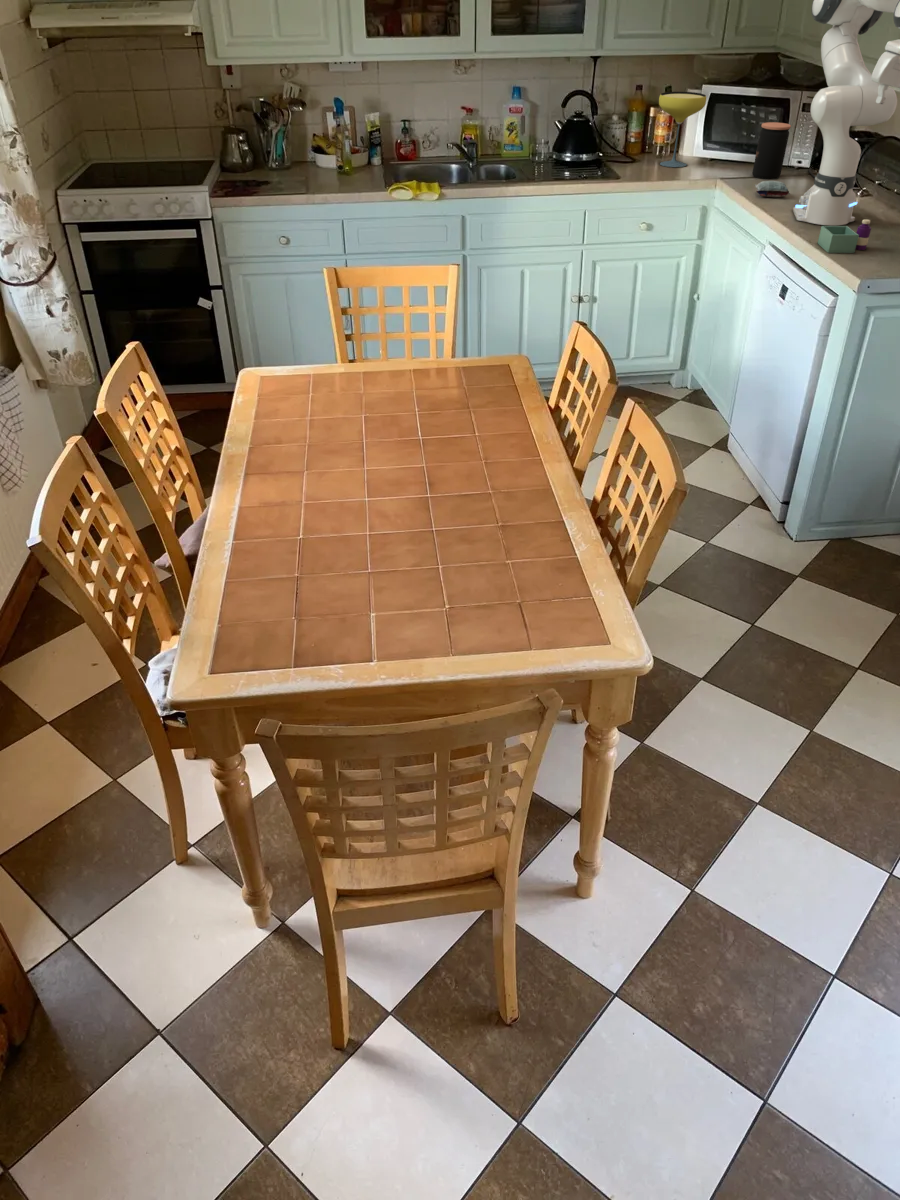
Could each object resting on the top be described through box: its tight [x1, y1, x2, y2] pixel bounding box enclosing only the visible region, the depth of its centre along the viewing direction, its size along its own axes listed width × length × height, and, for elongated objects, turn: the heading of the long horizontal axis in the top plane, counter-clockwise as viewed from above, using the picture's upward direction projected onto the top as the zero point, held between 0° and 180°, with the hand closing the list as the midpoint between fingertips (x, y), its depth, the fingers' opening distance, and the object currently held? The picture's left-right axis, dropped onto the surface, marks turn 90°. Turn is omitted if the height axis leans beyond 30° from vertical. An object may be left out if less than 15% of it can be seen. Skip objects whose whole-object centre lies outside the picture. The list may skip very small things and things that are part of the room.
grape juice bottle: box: [855, 218, 872, 251], centre depth 265 cm, size 4×4×8 cm
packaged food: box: [754, 180, 791, 198], centre depth 318 cm, size 9×12×5 cm
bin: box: [817, 225, 859, 254], centre depth 266 cm, size 10×8×5 cm
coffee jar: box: [752, 121, 792, 180], centre depth 339 cm, size 11×11×18 cm
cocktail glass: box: [658, 91, 707, 168], centre depth 354 cm, size 18×18×25 cm
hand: (891, 106), depth 250 cm, fingers open, 8 cm apart
